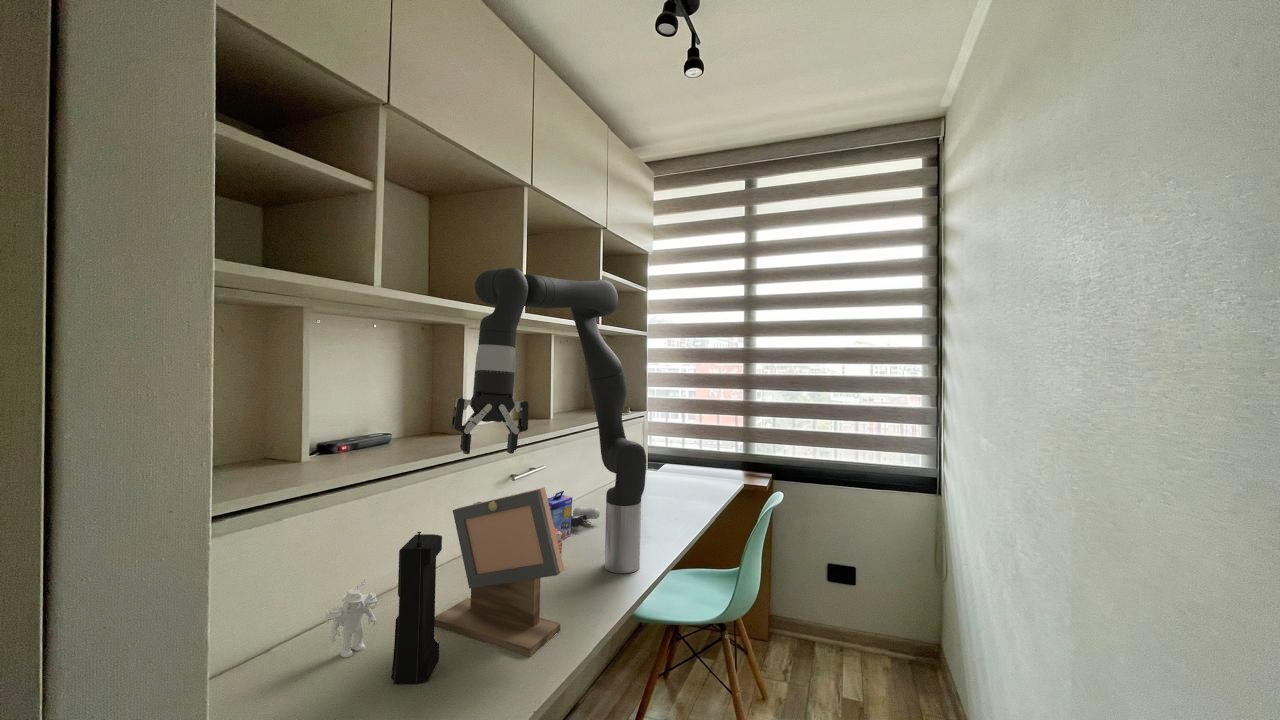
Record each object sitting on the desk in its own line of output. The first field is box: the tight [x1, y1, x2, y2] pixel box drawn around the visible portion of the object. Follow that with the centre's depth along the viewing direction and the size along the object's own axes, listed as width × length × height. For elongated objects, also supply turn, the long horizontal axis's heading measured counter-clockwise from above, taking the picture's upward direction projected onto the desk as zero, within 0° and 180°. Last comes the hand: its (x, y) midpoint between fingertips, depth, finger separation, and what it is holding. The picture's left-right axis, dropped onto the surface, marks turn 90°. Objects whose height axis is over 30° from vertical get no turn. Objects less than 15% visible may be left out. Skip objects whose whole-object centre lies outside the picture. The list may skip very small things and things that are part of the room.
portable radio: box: [390, 531, 443, 685], centre depth 89 cm, size 8×6×25 cm
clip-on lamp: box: [571, 505, 601, 527], centre depth 169 cm, size 12×6×18 cm
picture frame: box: [452, 487, 565, 590], centre depth 102 cm, size 3×22×16 cm, turn 66°
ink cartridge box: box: [547, 490, 573, 541], centre depth 154 cm, size 10×6×14 cm, turn 151°
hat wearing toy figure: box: [324, 578, 378, 658], centre depth 94 cm, size 9×4×12 cm, turn 147°
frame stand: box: [435, 501, 561, 657], centre depth 103 cm, size 10×24×24 cm, turn 66°
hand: (488, 453), depth 99 cm, fingers open, 8 cm apart
